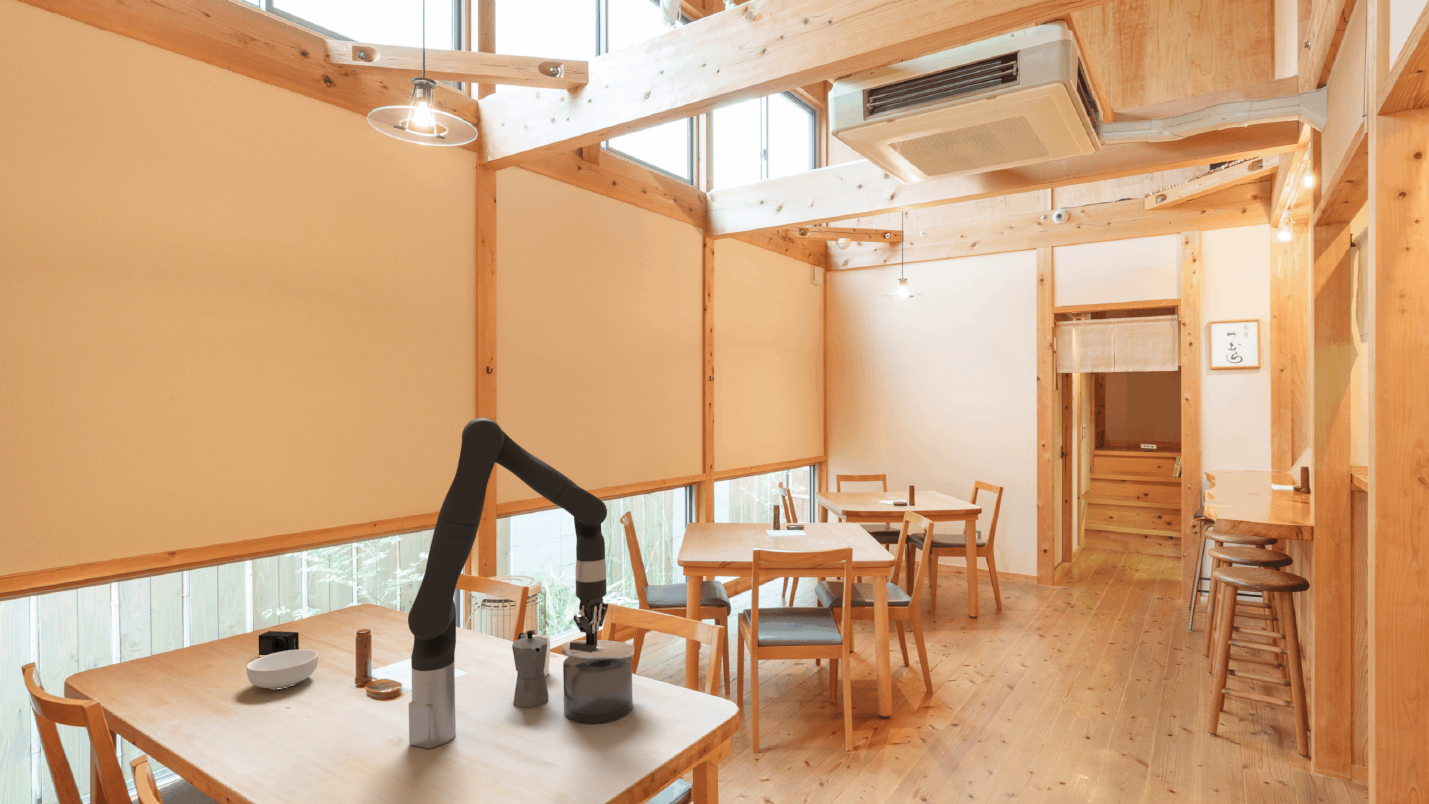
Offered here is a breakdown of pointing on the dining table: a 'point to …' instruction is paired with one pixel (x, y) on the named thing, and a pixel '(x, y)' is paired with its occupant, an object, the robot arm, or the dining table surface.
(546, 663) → the white cup
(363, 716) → the dining table surface
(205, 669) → the dining table surface
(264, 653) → the digital camera
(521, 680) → the coffeepot
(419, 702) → the robot arm
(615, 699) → the pot
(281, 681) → the cereal bowl
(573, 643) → the lid
